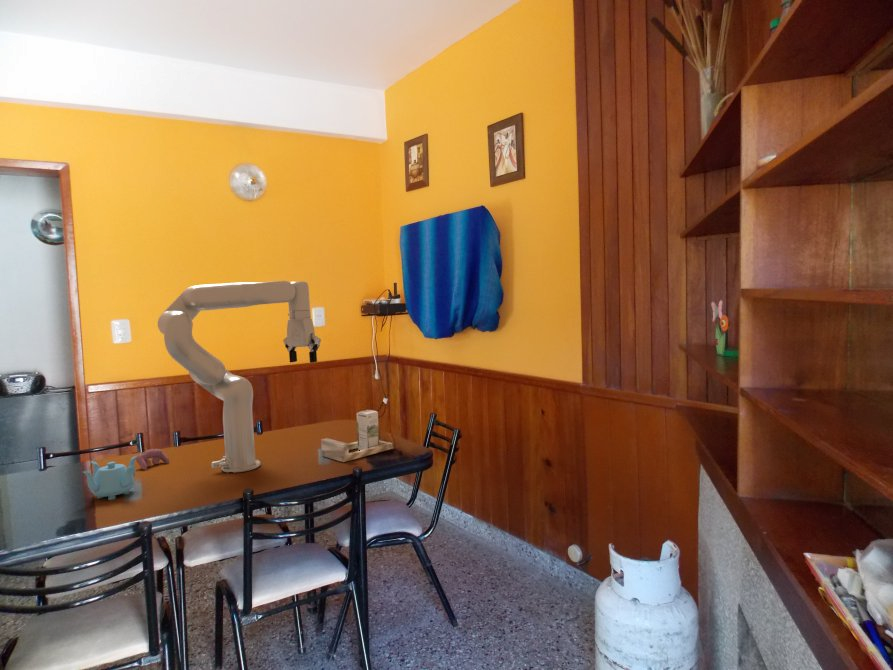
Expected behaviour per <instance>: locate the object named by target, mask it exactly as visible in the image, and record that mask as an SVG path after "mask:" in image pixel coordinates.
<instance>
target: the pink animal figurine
mask: <svg viewBox="0 0 893 670" xmlns="http://www.w3.org/2000/svg"><path fill="white" fill-rule="evenodd" d="M149 459H152V460H149ZM169 459H170V458H169V457H168V456H167V454H166V453H165V452H164V451H163V450H162V449H160V448H151V449H147V450H146V449H145V450H144V451H143V452H140V453H139V454H138V455H137V457H136V458H135V461H136V463H137V464H138V466H139V467H140V468H141V469H142V470H144V471H147V469H148V468H149V467H151V465H154V466H155V465H156V464H157V465H158V464H159V463H160V461H162V462H163V463H165V464H169V463H170V460H169Z"/></svg>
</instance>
